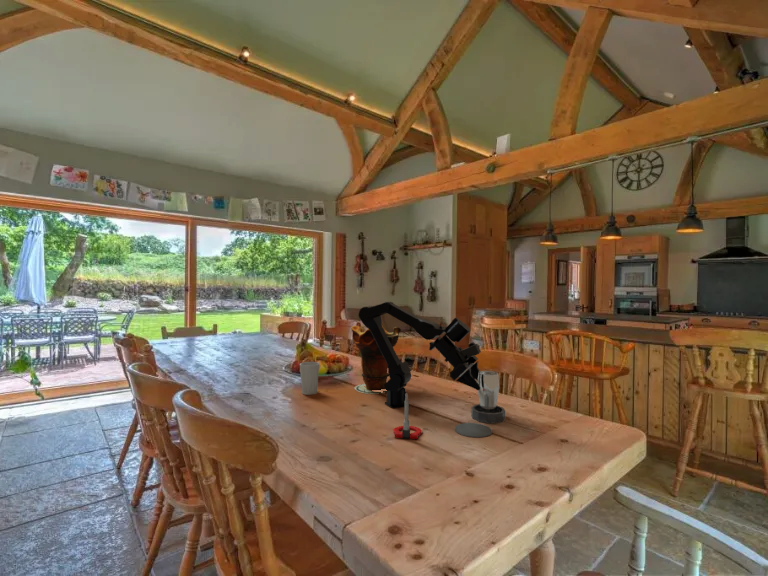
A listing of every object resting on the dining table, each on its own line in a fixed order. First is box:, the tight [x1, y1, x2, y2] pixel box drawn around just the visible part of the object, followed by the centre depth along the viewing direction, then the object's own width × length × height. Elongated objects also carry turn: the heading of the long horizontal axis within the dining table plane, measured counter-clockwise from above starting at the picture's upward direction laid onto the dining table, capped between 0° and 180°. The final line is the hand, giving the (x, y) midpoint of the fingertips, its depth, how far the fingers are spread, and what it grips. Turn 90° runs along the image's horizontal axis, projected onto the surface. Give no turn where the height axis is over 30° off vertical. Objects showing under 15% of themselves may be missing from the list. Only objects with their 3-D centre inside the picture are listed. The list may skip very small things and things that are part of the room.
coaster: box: [454, 422, 493, 439], centre depth 118 cm, size 11×11×1 cm
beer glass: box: [476, 370, 500, 413], centre depth 130 cm, size 7×7×15 cm
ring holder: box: [470, 403, 506, 424], centre depth 130 cm, size 11×11×3 cm
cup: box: [299, 361, 320, 396], centre depth 161 cm, size 8×8×12 cm
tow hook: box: [393, 392, 423, 440], centre depth 116 cm, size 8×13×9 cm
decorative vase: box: [350, 325, 402, 395], centre depth 168 cm, size 21×23×28 cm
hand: (482, 386), depth 131 cm, fingers open, 9 cm apart
